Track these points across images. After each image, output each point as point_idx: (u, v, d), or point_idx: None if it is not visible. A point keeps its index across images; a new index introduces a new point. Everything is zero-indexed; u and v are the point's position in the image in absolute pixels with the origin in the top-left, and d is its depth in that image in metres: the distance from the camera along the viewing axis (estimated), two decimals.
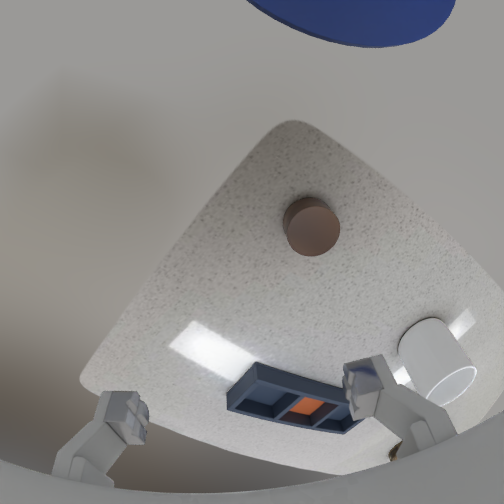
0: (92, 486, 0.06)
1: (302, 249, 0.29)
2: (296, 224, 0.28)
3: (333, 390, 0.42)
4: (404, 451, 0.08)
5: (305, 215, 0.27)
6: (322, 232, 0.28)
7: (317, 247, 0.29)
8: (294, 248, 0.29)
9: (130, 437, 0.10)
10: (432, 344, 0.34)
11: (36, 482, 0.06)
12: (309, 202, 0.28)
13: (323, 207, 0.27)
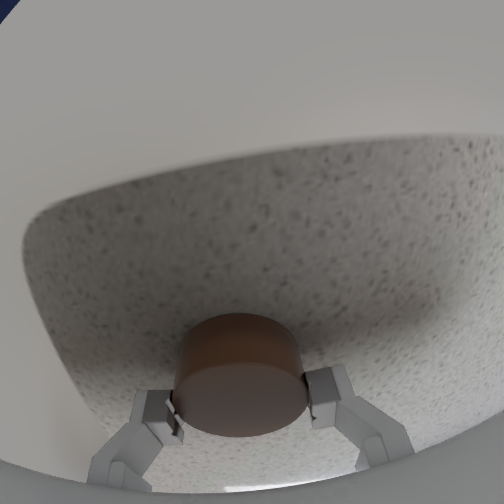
0: (92, 486, 0.06)
1: (251, 431, 0.11)
2: (192, 414, 0.10)
3: None
4: (360, 465, 0.08)
5: (191, 397, 0.10)
6: (259, 399, 0.10)
7: (276, 417, 0.11)
8: (235, 436, 0.11)
9: (168, 438, 0.10)
10: None
11: (36, 482, 0.06)
12: (185, 359, 0.10)
13: (207, 367, 0.09)
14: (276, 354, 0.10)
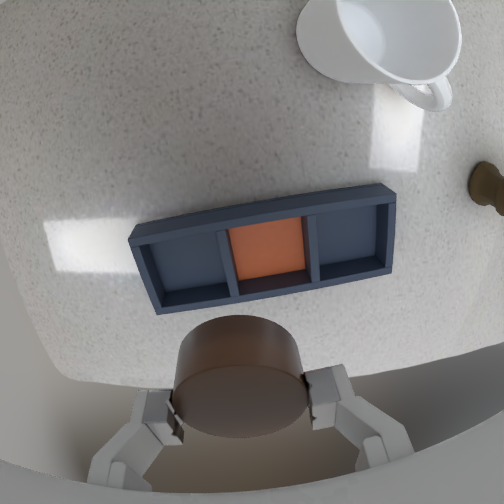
0: (92, 486, 0.06)
1: (251, 432, 0.11)
2: (192, 415, 0.10)
3: (286, 200, 0.26)
4: (360, 465, 0.08)
5: (191, 398, 0.10)
6: (259, 401, 0.10)
7: (276, 418, 0.11)
8: (235, 437, 0.11)
9: (168, 438, 0.10)
10: (312, 1, 0.15)
11: (36, 481, 0.06)
12: (185, 360, 0.10)
13: (207, 368, 0.09)
14: (276, 355, 0.10)
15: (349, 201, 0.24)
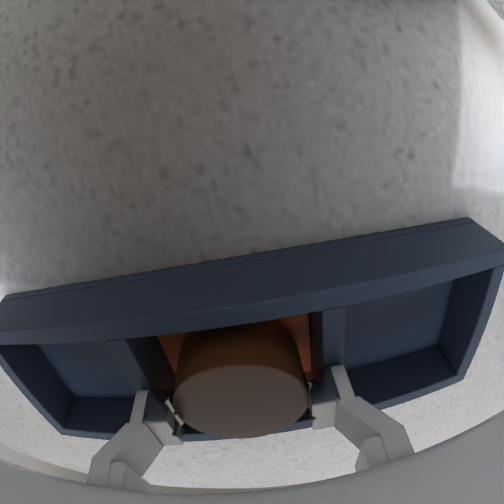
0: (92, 486, 0.06)
1: (251, 432, 0.11)
2: (192, 415, 0.11)
3: (273, 263, 0.11)
4: (360, 465, 0.08)
5: (191, 399, 0.10)
6: (259, 401, 0.10)
7: (277, 418, 0.11)
8: (235, 437, 0.11)
9: (168, 438, 0.10)
10: None
11: (36, 482, 0.06)
12: (185, 361, 0.10)
13: (208, 369, 0.09)
14: (276, 356, 0.10)
15: (425, 271, 0.09)
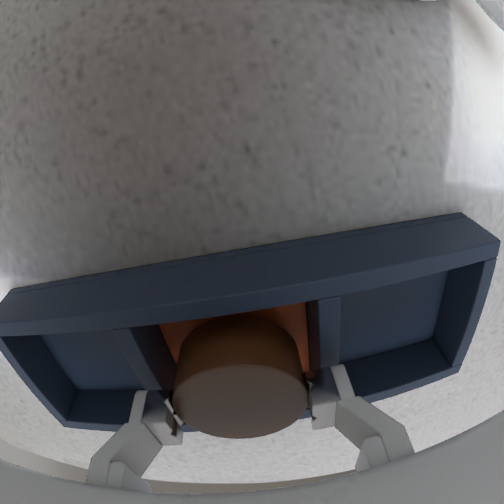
0: (92, 486, 0.06)
1: (251, 432, 0.11)
2: (192, 415, 0.10)
3: (271, 255, 0.11)
4: (360, 465, 0.08)
5: (191, 399, 0.10)
6: (259, 401, 0.10)
7: (276, 418, 0.11)
8: (235, 437, 0.11)
9: (167, 438, 0.10)
10: None
11: (36, 481, 0.06)
12: (185, 361, 0.10)
13: (207, 369, 0.09)
14: (276, 356, 0.10)
15: (417, 262, 0.10)
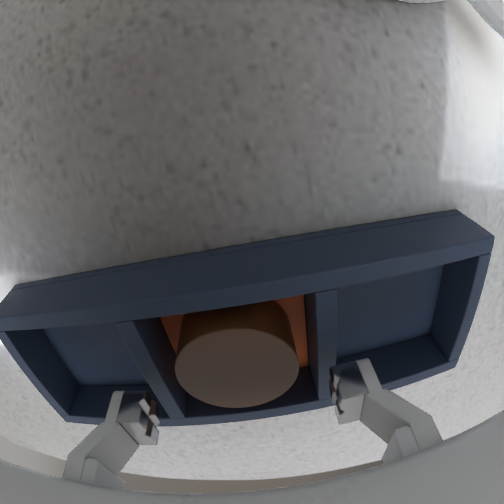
0: (92, 486, 0.06)
1: (247, 401, 0.13)
2: (192, 382, 0.12)
3: (270, 250, 0.12)
4: (389, 456, 0.08)
5: (192, 364, 0.11)
6: (254, 367, 0.12)
7: (270, 386, 0.12)
8: (232, 406, 0.13)
9: (142, 437, 0.10)
10: None
11: (36, 482, 0.06)
12: (187, 329, 0.12)
13: (207, 333, 0.11)
14: (268, 323, 0.11)
15: (411, 257, 0.10)
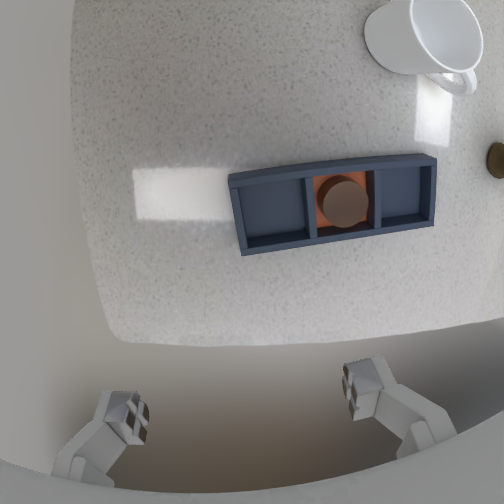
0: (92, 486, 0.06)
1: (347, 222, 0.31)
2: (328, 208, 0.31)
3: (355, 159, 0.31)
4: (404, 451, 0.08)
5: (331, 198, 0.30)
6: (353, 201, 0.30)
7: (357, 213, 0.31)
8: (341, 226, 0.32)
9: (130, 437, 0.10)
10: (383, 11, 0.20)
11: (36, 481, 0.06)
12: (327, 186, 0.31)
13: (339, 182, 0.30)
14: (357, 183, 0.30)
15: (404, 161, 0.29)
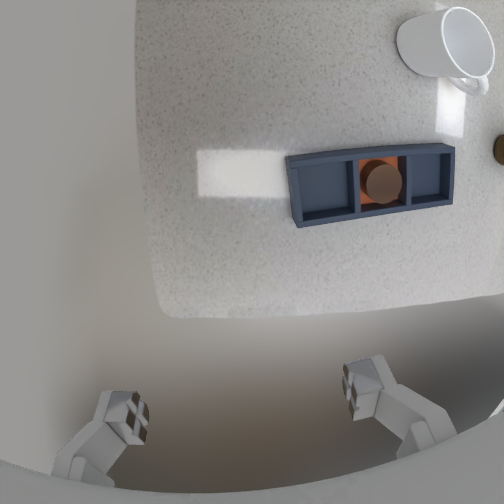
0: (92, 486, 0.06)
1: (385, 199, 0.35)
2: (371, 187, 0.35)
3: (390, 146, 0.35)
4: (404, 451, 0.08)
5: (373, 178, 0.34)
6: (390, 181, 0.34)
7: (393, 191, 0.35)
8: (380, 202, 0.36)
9: (130, 437, 0.10)
10: (415, 25, 0.24)
11: (36, 482, 0.06)
12: (369, 168, 0.35)
13: (379, 165, 0.34)
14: None
15: (429, 149, 0.33)
